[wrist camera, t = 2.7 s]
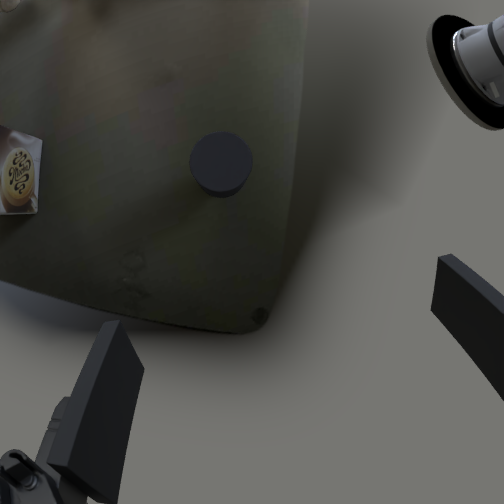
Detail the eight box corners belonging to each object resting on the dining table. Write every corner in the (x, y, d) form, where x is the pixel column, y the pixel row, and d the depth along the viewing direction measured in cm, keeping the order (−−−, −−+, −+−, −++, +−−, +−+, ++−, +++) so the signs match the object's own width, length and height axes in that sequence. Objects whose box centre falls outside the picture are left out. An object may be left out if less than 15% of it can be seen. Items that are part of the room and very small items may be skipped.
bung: (237, 152, 32) (243, 124, 22) (249, 193, 32) (259, 183, 22) (195, 163, 32) (183, 140, 22) (206, 205, 32) (198, 199, 22)
